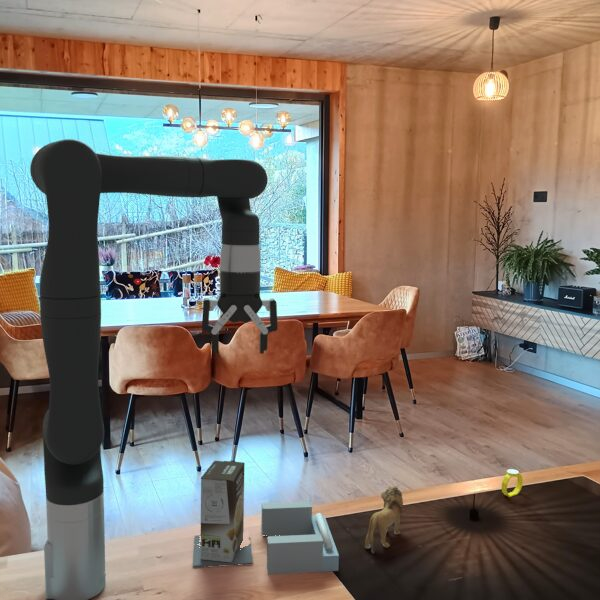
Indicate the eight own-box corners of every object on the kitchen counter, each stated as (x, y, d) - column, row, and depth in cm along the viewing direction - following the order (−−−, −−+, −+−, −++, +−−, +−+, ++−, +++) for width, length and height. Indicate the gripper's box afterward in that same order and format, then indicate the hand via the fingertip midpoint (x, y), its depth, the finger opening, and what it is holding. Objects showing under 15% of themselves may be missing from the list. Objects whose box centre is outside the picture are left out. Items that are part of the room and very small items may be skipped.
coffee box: (233, 563, 120) (233, 481, 117) (199, 560, 120) (199, 478, 118) (244, 538, 129) (245, 461, 126) (213, 535, 130) (213, 459, 127)
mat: (192, 567, 119) (192, 565, 119) (194, 537, 129) (194, 535, 129) (252, 564, 120) (252, 562, 120) (249, 535, 131) (249, 533, 131)
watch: (508, 501, 150) (508, 477, 149) (498, 496, 152) (499, 472, 151) (525, 493, 153) (525, 470, 152) (515, 489, 155) (516, 466, 154)
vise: (267, 574, 117) (268, 543, 116) (261, 530, 133) (261, 503, 132) (338, 570, 119) (339, 540, 118) (323, 528, 134) (324, 500, 134)
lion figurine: (381, 520, 139) (383, 480, 137) (405, 525, 136) (407, 485, 135) (360, 553, 125) (362, 509, 124) (387, 559, 123) (389, 515, 122)
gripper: (201, 270, 117) (201, 357, 119) (280, 270, 119) (278, 357, 121) (202, 266, 124) (202, 348, 126) (276, 267, 126) (274, 348, 128)
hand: (239, 352), depth 124 cm, fingers open, 8 cm apart
